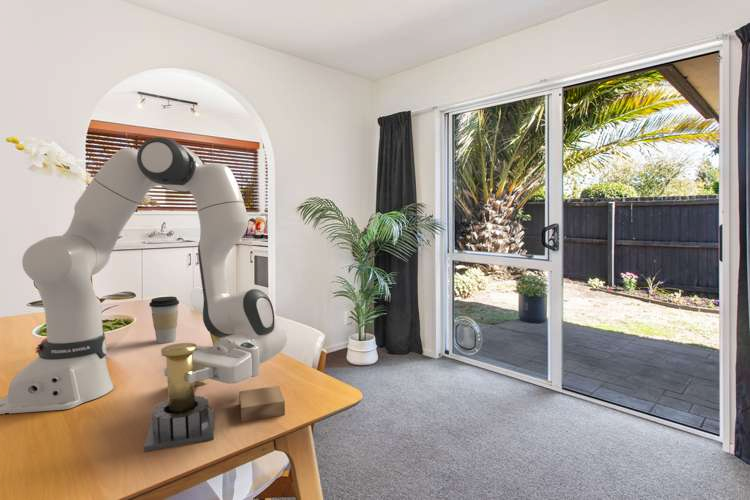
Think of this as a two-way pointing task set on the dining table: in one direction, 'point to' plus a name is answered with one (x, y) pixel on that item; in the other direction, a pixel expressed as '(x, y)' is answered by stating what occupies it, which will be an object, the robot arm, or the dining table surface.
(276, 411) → the stand
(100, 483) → the dining table surface
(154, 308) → the coffee cup
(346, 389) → the dining table surface
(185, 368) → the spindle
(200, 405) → the hub
